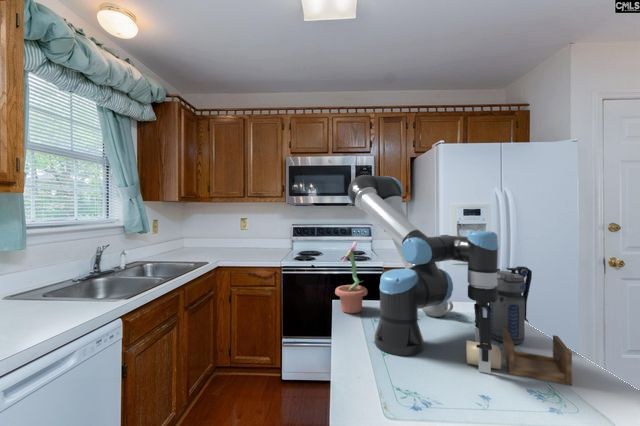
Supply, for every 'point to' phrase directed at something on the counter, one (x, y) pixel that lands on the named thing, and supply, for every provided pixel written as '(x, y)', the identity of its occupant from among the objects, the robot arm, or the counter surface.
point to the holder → (539, 362)
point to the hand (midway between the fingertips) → (482, 360)
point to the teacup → (438, 309)
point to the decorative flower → (351, 289)
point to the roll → (473, 354)
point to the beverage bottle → (511, 304)
